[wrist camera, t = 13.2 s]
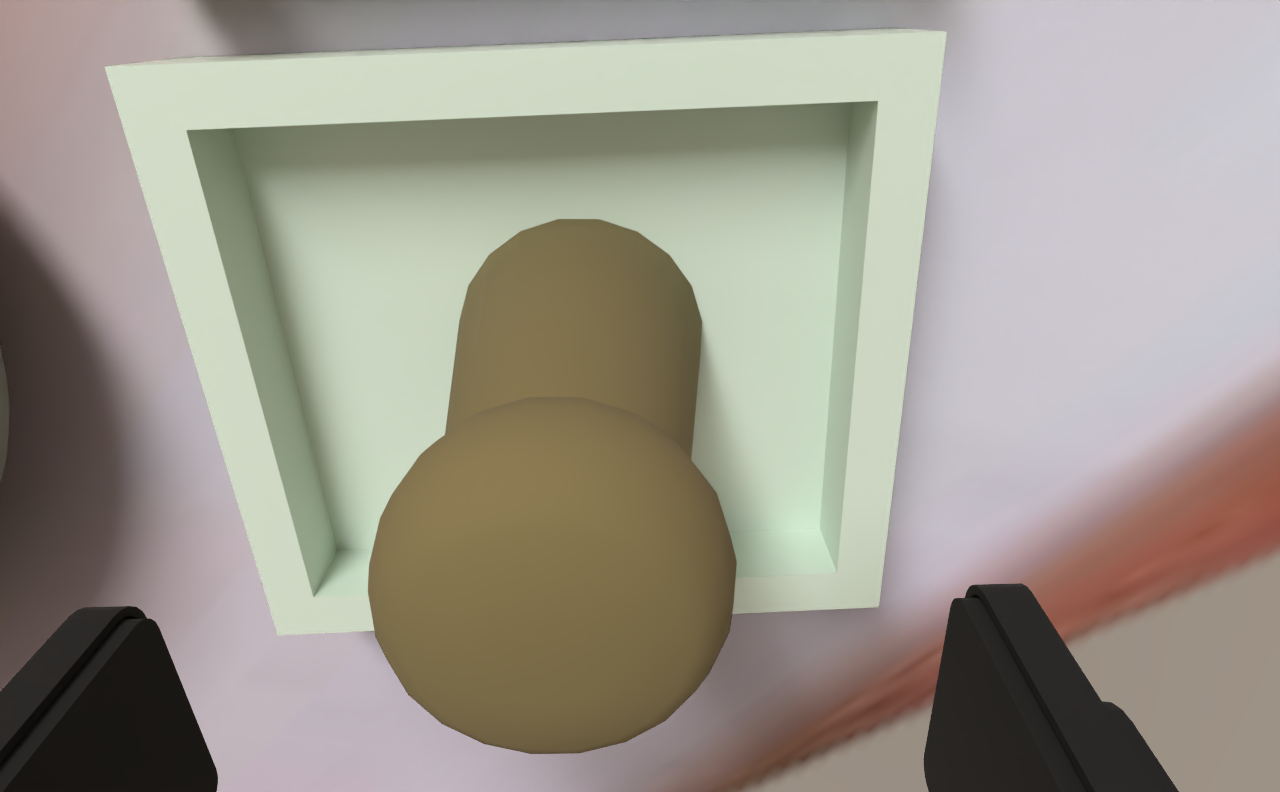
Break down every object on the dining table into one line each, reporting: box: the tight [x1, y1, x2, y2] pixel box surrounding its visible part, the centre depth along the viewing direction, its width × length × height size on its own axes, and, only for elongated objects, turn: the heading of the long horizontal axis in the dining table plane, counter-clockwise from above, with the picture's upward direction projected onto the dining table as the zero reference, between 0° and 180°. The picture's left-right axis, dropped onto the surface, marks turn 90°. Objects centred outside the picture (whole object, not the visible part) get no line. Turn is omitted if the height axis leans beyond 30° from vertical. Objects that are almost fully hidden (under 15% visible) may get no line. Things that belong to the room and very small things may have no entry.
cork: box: [368, 219, 737, 754], centre depth 15 cm, size 6×6×11 cm
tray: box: [105, 28, 947, 635], centre depth 20 cm, size 16×14×3 cm
